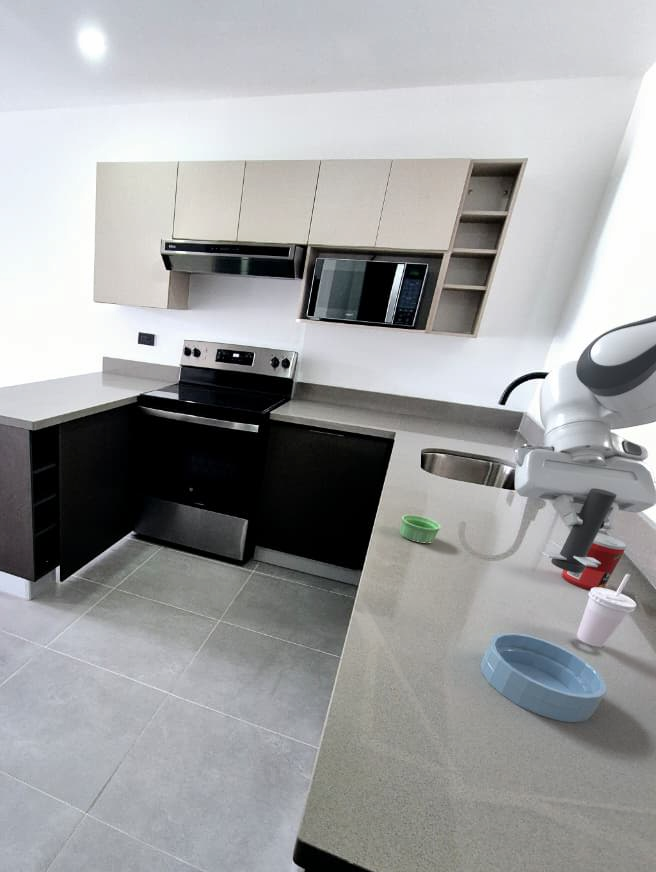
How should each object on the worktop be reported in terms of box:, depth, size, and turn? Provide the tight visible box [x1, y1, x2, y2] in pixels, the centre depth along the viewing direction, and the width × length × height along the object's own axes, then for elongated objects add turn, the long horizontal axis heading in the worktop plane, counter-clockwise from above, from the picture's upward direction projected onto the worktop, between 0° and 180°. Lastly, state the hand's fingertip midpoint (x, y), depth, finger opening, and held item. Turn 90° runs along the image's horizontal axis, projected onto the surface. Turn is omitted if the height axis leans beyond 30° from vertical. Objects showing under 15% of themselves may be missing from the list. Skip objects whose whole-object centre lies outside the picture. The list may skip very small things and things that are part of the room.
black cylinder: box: [541, 488, 617, 573], centre depth 79 cm, size 8×8×13 cm
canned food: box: [561, 532, 627, 591], centre depth 111 cm, size 8×8×11 cm
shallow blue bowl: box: [479, 632, 608, 723], centre depth 74 cm, size 14×14×5 cm
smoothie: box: [576, 573, 637, 648], centre depth 86 cm, size 6×6×14 cm
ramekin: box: [399, 514, 442, 543], centre depth 125 cm, size 9×9×4 cm
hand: (589, 527), depth 78 cm, fingers closed on black cylinder, 3 cm apart
